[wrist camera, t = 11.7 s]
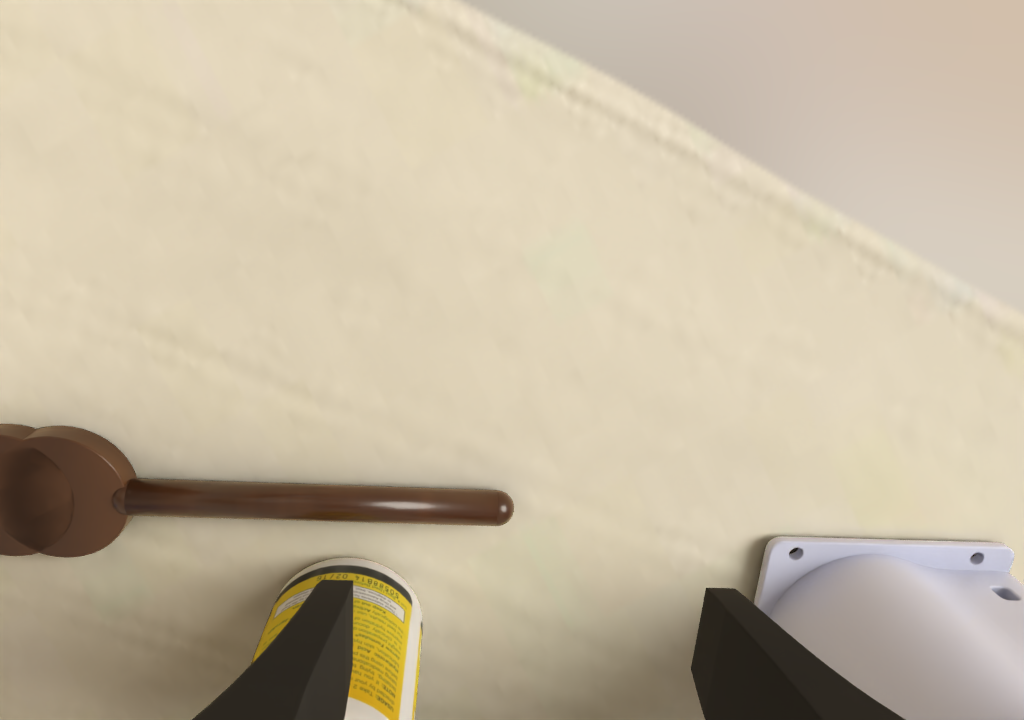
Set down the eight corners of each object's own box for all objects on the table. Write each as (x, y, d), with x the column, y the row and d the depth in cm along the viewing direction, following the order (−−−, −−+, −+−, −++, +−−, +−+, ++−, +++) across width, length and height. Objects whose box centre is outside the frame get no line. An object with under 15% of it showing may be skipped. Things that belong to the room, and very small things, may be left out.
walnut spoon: (517, 442, 25) (520, 458, 24) (508, 553, 26) (510, 573, 25) (-62, 420, 23) (-89, 436, 22) (-39, 539, 24) (-63, 560, 23)
